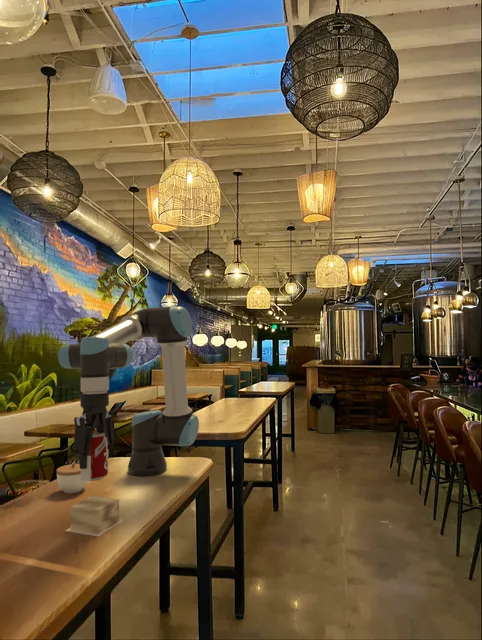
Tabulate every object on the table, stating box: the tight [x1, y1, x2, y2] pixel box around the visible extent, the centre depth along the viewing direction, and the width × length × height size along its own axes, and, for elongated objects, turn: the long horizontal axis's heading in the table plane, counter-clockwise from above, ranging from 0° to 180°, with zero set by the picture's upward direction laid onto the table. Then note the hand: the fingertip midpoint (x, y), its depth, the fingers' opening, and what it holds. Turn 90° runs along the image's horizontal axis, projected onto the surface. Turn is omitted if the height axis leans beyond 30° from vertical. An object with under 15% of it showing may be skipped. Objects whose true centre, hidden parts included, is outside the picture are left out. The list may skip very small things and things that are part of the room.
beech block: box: [69, 495, 120, 534], centre depth 121 cm, size 9×9×6 cm
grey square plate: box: [64, 518, 125, 537], centre depth 122 cm, size 14×14×1 cm
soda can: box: [84, 431, 109, 482], centre depth 122 cm, size 7×7×12 cm
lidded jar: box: [56, 462, 89, 494], centre depth 154 cm, size 11×11×9 cm
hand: (94, 476), depth 121 cm, fingers closed on soda can, 7 cm apart
